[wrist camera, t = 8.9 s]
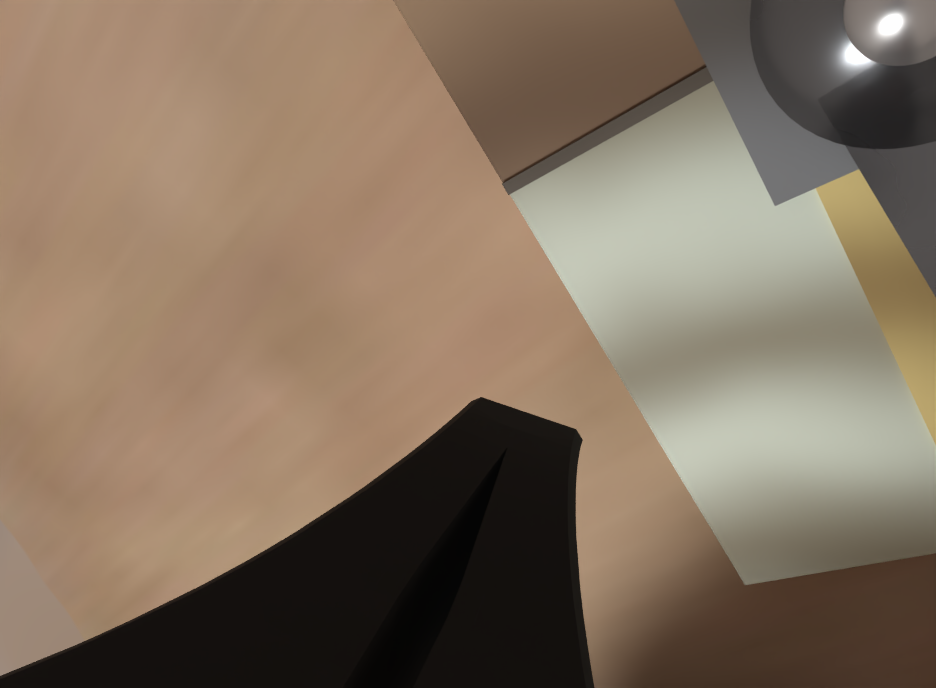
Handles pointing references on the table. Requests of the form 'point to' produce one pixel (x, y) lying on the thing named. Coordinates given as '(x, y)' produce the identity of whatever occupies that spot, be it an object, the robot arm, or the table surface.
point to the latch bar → (863, 96)
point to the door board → (714, 266)
